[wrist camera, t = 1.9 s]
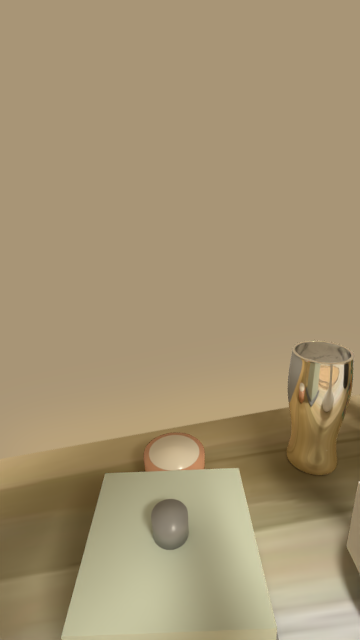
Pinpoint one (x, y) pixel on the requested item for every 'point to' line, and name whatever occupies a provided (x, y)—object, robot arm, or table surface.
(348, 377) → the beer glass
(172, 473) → the cover
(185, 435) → the bowl
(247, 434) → the table surface
